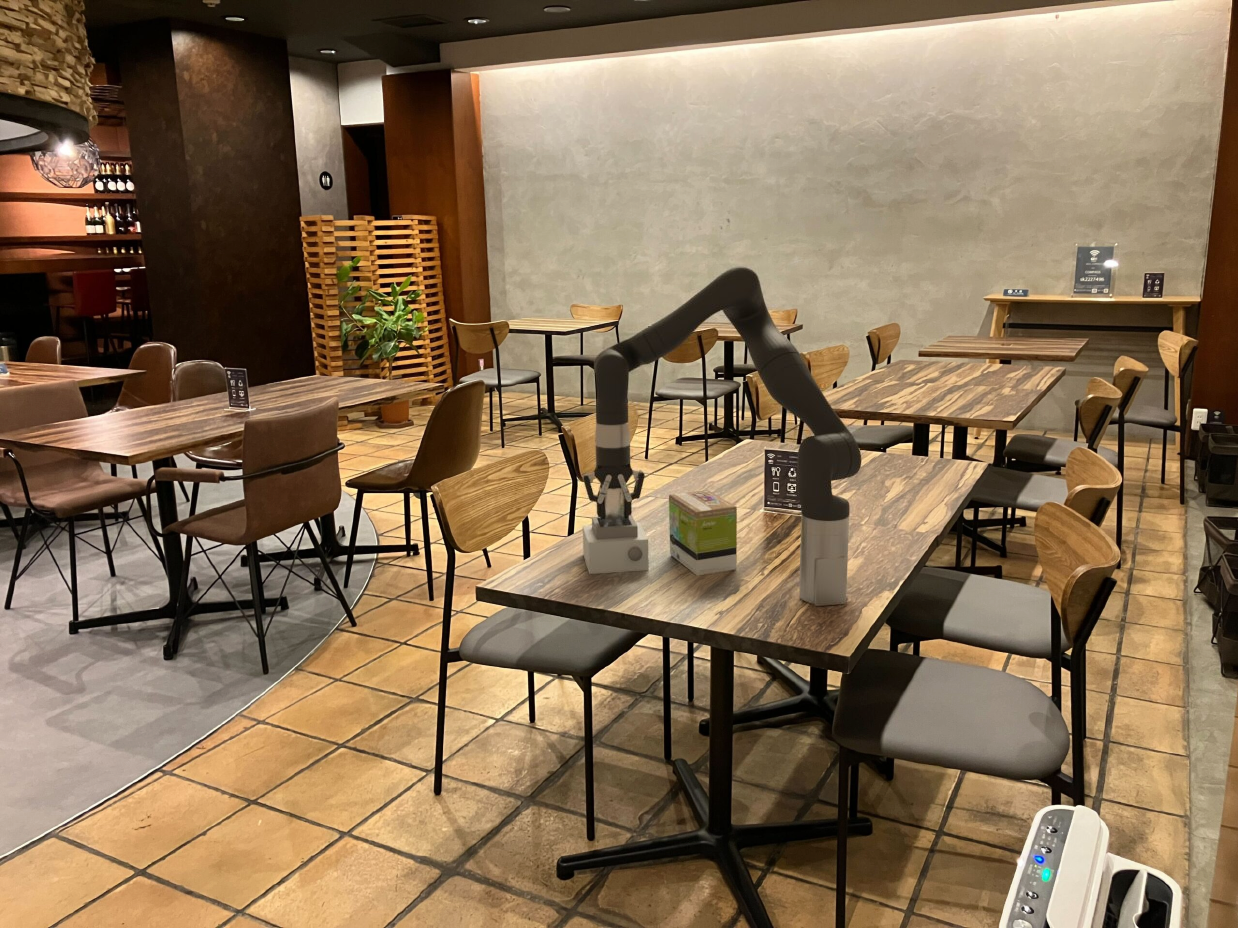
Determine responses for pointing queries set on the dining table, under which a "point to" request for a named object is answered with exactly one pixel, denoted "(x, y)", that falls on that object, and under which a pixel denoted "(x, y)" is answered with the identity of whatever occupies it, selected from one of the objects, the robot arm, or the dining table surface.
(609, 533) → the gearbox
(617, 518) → the spout can
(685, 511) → the tea box
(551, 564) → the dining table surface
